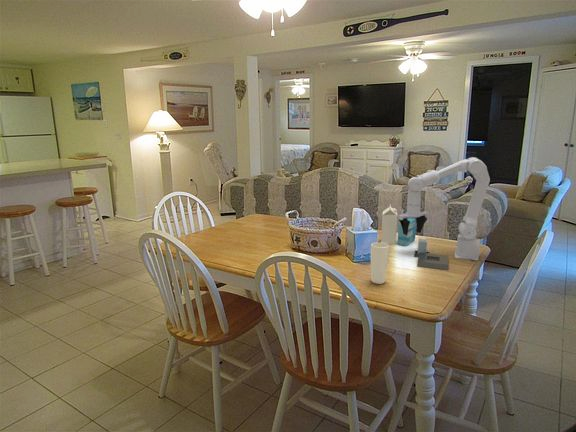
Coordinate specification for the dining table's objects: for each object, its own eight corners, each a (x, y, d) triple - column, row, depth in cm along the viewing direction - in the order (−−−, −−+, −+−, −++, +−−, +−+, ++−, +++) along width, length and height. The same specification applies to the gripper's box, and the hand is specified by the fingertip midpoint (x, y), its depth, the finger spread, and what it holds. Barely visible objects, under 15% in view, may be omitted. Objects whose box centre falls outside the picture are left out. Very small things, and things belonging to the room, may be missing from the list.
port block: (447, 261, 177) (448, 255, 177) (447, 271, 166) (448, 264, 166) (418, 258, 182) (419, 252, 181) (417, 267, 171) (417, 261, 170)
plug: (426, 254, 185) (427, 237, 183) (425, 256, 181) (427, 239, 179) (417, 253, 186) (419, 236, 184) (417, 256, 183) (418, 238, 181)
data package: (405, 247, 196) (407, 223, 193) (396, 245, 199) (398, 222, 196) (415, 241, 205) (416, 218, 202) (406, 239, 208) (408, 217, 205)
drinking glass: (367, 278, 160) (368, 242, 156) (384, 277, 161) (385, 241, 157) (372, 285, 154) (373, 248, 150) (389, 284, 154) (391, 247, 150)
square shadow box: (429, 255, 186) (429, 251, 185) (428, 259, 180) (429, 256, 179) (414, 253, 188) (415, 250, 188) (413, 257, 182) (414, 254, 182)
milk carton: (380, 244, 201) (382, 207, 196) (381, 240, 208) (383, 203, 203) (395, 245, 200) (397, 207, 195) (395, 241, 206) (397, 204, 201)
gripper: (420, 201, 189) (418, 229, 192) (394, 204, 184) (393, 232, 187) (431, 203, 183) (429, 232, 186) (405, 207, 177) (403, 237, 181)
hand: (412, 233), depth 186 cm, fingers open, 7 cm apart
